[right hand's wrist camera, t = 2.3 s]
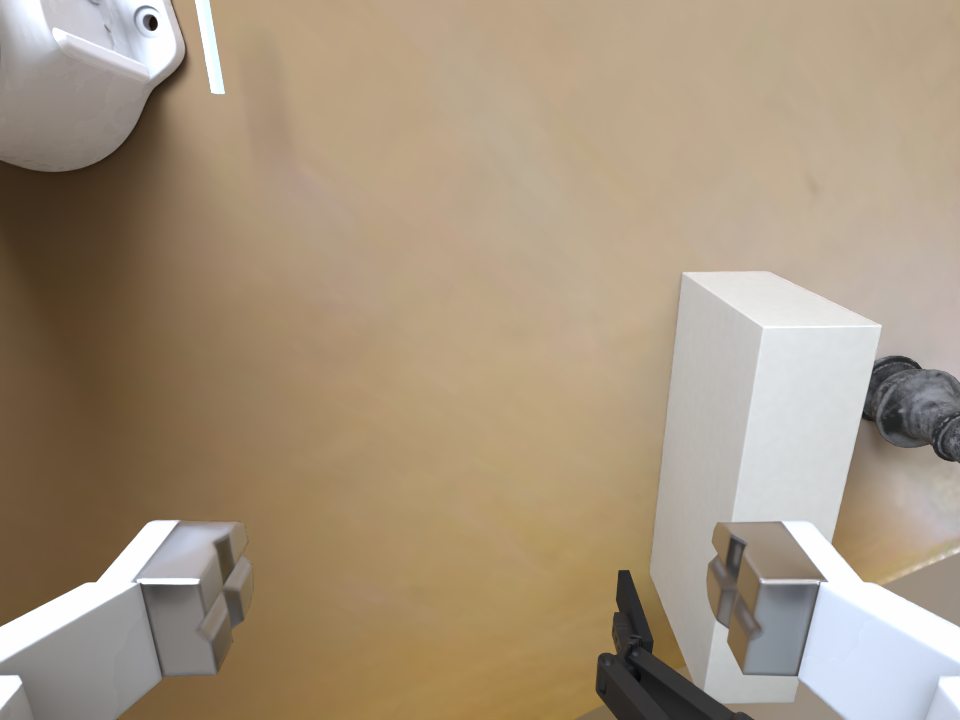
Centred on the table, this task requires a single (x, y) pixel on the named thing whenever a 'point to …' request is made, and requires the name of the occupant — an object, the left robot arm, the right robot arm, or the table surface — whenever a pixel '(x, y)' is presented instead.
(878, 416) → the dark grey chess piece
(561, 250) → the table surface
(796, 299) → the box
